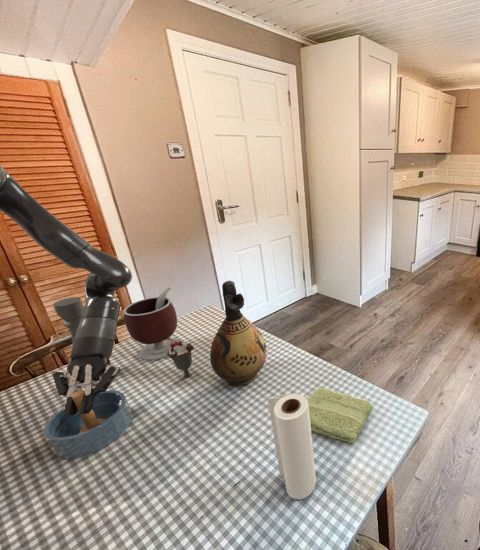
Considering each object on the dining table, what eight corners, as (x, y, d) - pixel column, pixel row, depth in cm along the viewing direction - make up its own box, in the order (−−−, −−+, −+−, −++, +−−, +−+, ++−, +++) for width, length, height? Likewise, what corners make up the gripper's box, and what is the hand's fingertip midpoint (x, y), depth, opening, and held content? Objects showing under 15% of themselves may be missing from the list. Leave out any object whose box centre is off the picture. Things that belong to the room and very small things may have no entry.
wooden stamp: (75, 442, 70) (56, 404, 66) (88, 424, 75) (71, 387, 71) (101, 437, 72) (84, 399, 67) (113, 420, 76) (97, 383, 72)
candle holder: (106, 364, 98) (78, 294, 88) (113, 372, 94) (84, 300, 85) (81, 375, 93) (49, 302, 84) (87, 383, 90) (54, 309, 80)
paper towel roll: (321, 489, 61) (313, 409, 53) (292, 507, 58) (279, 424, 50) (307, 461, 67) (298, 384, 59) (280, 475, 64) (267, 397, 56)
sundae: (169, 382, 90) (156, 340, 84) (189, 368, 95) (177, 327, 90) (186, 388, 88) (173, 344, 82) (205, 373, 93) (194, 332, 88)
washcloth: (317, 390, 87) (316, 381, 85) (374, 408, 80) (374, 399, 79) (289, 425, 75) (288, 415, 74) (354, 450, 69) (353, 440, 68)
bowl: (37, 468, 66) (24, 446, 63) (79, 415, 79) (70, 396, 76) (115, 453, 69) (105, 432, 66) (143, 405, 82) (136, 386, 79)
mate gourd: (156, 365, 97) (138, 311, 89) (127, 356, 101) (107, 303, 94) (196, 339, 110) (184, 290, 103) (169, 332, 115) (155, 284, 107)
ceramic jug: (276, 379, 91) (263, 289, 79) (221, 402, 83) (198, 304, 71) (260, 351, 104) (246, 270, 92) (211, 368, 96) (189, 281, 84)
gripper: (51, 337, 71) (27, 419, 64) (116, 332, 73) (99, 411, 66) (76, 343, 78) (57, 417, 71) (134, 338, 80) (121, 410, 73)
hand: (77, 414), depth 69 cm, fingers closed on wooden stamp, 2 cm apart
